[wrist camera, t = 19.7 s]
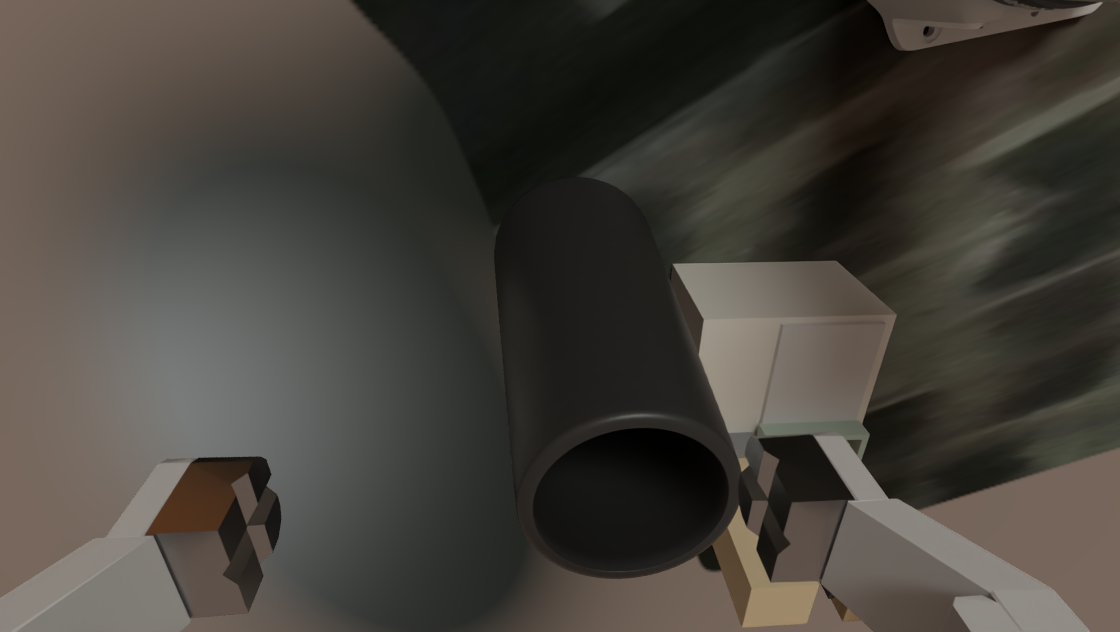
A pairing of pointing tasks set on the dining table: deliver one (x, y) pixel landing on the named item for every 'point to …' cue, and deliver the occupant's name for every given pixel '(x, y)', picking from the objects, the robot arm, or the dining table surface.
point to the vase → (605, 389)
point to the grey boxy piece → (781, 383)
